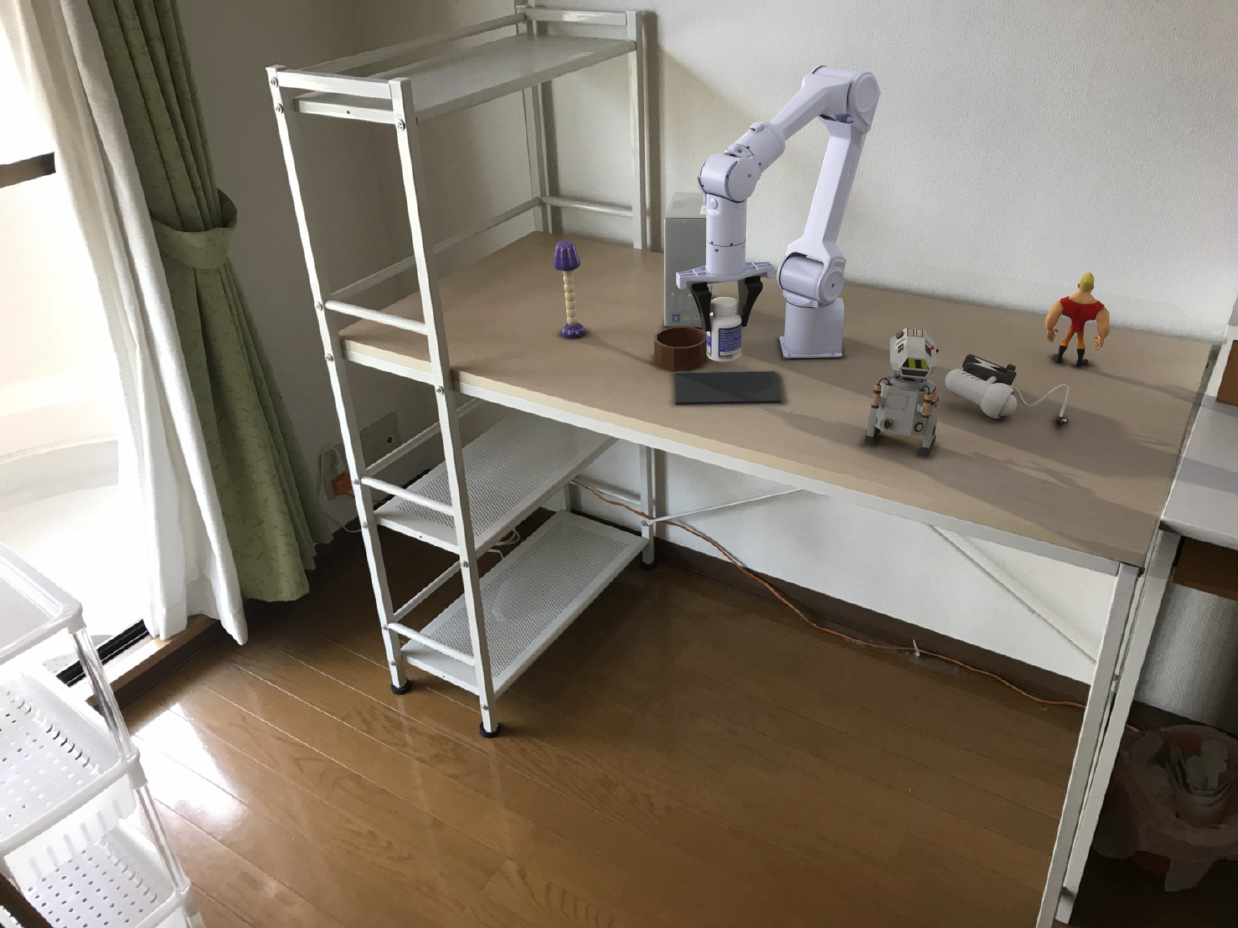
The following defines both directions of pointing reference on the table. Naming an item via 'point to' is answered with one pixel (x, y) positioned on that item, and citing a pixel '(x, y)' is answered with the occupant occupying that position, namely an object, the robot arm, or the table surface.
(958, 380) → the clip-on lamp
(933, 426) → the figurine
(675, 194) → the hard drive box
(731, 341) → the pill bottle
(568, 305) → the toy lamp
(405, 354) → the table surface
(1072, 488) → the table surface
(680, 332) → the brown bowl
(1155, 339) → the table surface
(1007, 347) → the table surface
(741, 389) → the mat
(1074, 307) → the action figure
